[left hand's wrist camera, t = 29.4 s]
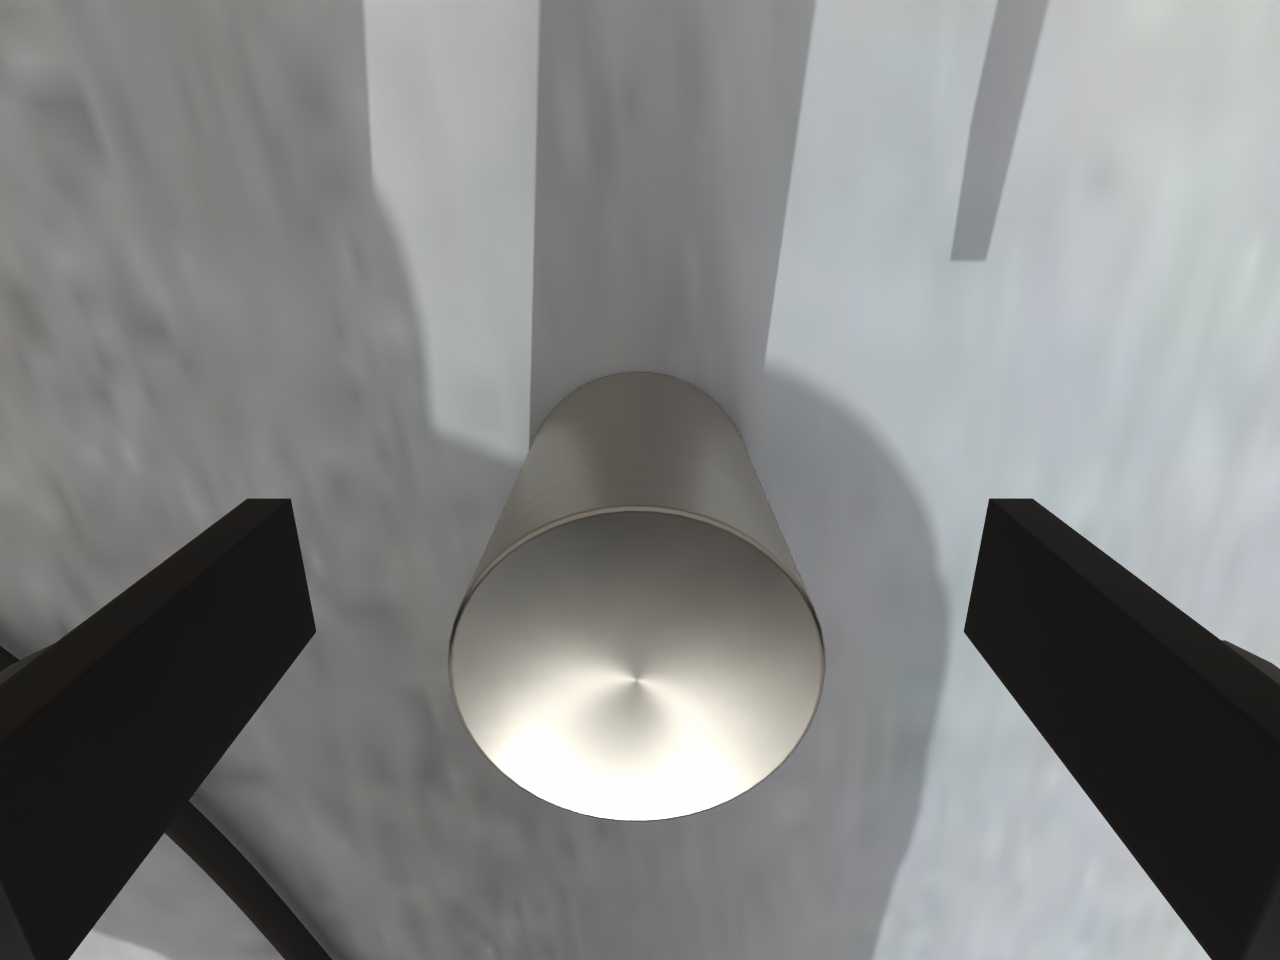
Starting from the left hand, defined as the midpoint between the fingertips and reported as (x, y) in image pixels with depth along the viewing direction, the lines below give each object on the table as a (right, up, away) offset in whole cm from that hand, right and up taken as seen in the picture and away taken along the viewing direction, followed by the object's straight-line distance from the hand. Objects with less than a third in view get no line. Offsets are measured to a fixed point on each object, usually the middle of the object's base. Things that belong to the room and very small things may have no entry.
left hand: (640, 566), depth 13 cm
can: (0, +2, +4) cm, 4 cm away
